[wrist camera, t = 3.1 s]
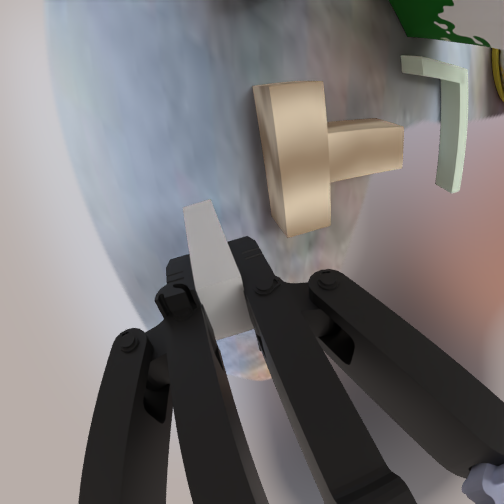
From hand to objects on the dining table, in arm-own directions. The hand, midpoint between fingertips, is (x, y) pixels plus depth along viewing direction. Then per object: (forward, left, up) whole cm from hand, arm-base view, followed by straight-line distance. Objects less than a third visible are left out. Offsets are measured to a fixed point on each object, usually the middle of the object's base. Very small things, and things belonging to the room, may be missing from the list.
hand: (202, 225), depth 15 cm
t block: (0, +12, -9) cm, 15 cm away
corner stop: (-1, +27, -9) cm, 28 cm away
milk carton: (-16, +25, -9) cm, 31 cm away
